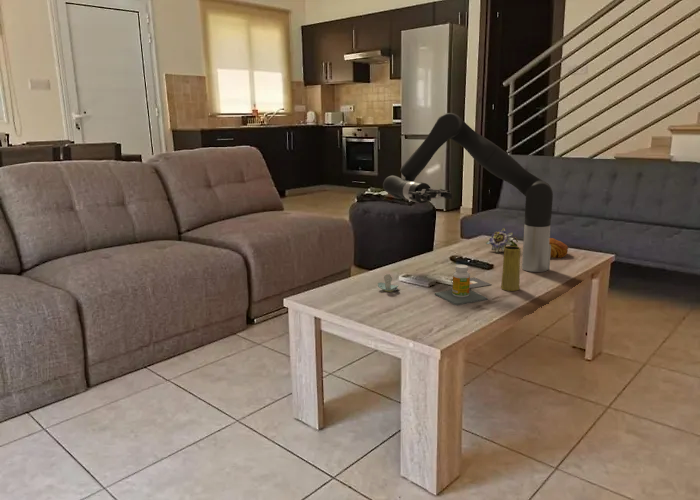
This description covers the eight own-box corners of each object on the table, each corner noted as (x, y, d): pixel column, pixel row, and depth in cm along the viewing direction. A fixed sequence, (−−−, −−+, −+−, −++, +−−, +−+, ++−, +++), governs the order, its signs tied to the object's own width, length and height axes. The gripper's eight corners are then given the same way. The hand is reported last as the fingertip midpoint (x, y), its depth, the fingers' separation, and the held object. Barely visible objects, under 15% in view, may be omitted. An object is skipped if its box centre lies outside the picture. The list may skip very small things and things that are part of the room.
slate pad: (465, 289, 184) (465, 287, 184) (487, 299, 173) (487, 297, 173) (434, 294, 180) (434, 292, 179) (455, 305, 169) (455, 303, 169)
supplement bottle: (459, 298, 173) (460, 269, 171) (448, 294, 178) (449, 265, 175) (472, 296, 175) (473, 267, 173) (462, 291, 180) (463, 263, 178)
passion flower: (496, 264, 235) (480, 242, 235) (504, 254, 243) (488, 233, 243) (518, 253, 228) (502, 230, 227) (525, 243, 236) (509, 221, 236)
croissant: (527, 261, 227) (527, 243, 224) (536, 248, 239) (536, 231, 236) (564, 264, 219) (564, 246, 217) (571, 251, 232) (571, 233, 229)
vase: (520, 291, 181) (522, 250, 177) (501, 290, 182) (503, 249, 179) (518, 286, 187) (520, 245, 183) (500, 285, 188) (502, 245, 184)
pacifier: (384, 286, 190) (375, 290, 185) (384, 269, 188) (375, 273, 183) (402, 289, 186) (394, 294, 181) (403, 272, 185) (395, 276, 180)
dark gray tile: (474, 277, 197) (474, 277, 197) (491, 285, 188) (491, 284, 188) (450, 281, 193) (450, 280, 193) (467, 289, 185) (467, 288, 184)
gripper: (400, 183, 199) (423, 187, 184) (433, 180, 204) (458, 185, 190) (399, 203, 201) (422, 209, 186) (433, 200, 206) (457, 206, 192)
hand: (440, 197), depth 188 cm, fingers open, 8 cm apart
